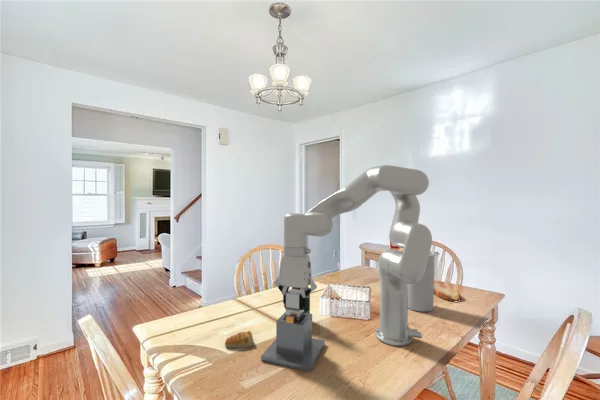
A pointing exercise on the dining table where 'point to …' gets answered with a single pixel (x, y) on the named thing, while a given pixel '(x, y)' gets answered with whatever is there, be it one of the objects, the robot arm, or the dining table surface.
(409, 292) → the cylinder vase
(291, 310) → the column
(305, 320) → the stand
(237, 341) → the pastry
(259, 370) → the dining table surface
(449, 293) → the slice of bread
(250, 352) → the dining table surface
